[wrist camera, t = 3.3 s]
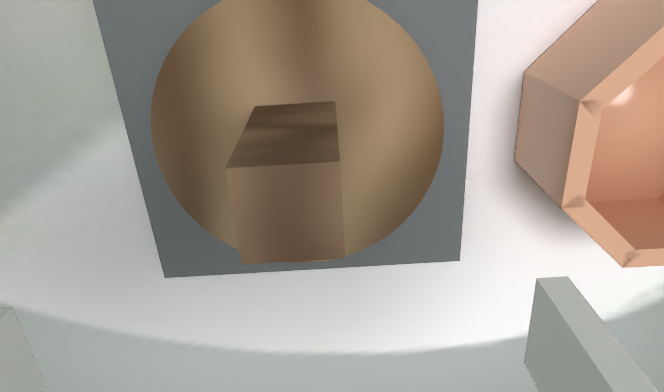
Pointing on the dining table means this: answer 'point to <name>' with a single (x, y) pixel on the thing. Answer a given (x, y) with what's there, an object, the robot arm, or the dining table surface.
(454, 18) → the mat
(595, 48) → the bowl
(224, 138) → the lid
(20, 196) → the dining table surface
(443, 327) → the dining table surface
